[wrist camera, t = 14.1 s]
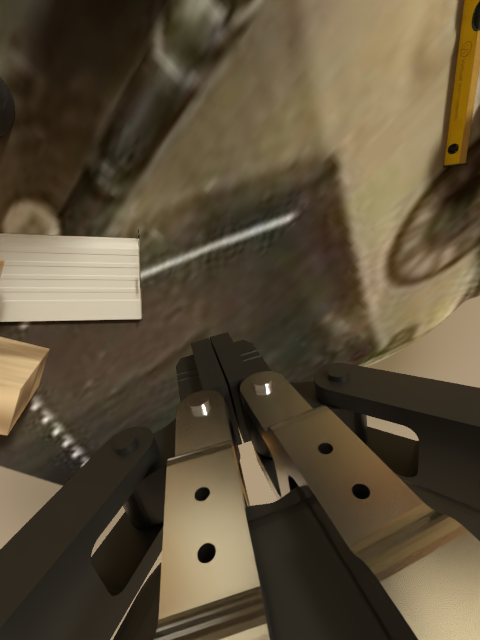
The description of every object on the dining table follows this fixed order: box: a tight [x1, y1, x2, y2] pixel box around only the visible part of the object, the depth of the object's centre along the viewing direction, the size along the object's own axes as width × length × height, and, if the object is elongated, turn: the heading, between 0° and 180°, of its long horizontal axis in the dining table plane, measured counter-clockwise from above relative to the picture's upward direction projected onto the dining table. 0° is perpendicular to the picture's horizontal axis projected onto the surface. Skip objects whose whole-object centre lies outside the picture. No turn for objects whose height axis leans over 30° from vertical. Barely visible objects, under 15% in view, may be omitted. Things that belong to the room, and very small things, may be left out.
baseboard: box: [0, 229, 142, 322], centre depth 37 cm, size 31×3×12 cm
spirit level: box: [443, 0, 480, 167], centre depth 40 cm, size 33×1×3 cm, turn 6°
